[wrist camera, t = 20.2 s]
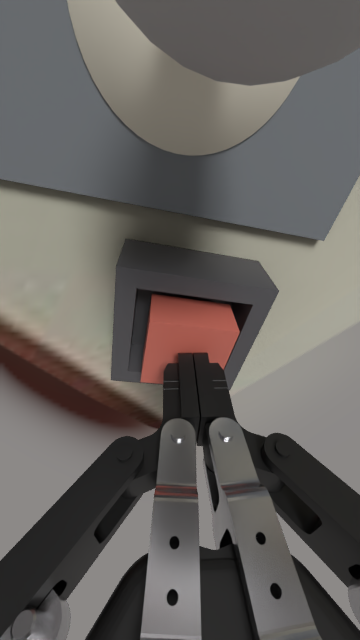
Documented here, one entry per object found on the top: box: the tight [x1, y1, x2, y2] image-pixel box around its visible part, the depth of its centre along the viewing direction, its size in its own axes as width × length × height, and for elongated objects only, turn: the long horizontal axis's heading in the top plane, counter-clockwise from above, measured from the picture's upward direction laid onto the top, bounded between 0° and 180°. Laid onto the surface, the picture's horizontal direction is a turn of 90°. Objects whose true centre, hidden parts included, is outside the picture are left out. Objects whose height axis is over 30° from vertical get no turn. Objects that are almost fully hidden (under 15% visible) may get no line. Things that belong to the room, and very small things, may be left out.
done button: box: [140, 294, 240, 384], centre depth 14 cm, size 4×4×2 cm
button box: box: [111, 239, 279, 390], centre depth 16 cm, size 8×8×4 cm
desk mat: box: [0, 0, 360, 241], centre depth 9 cm, size 18×14×1 cm
